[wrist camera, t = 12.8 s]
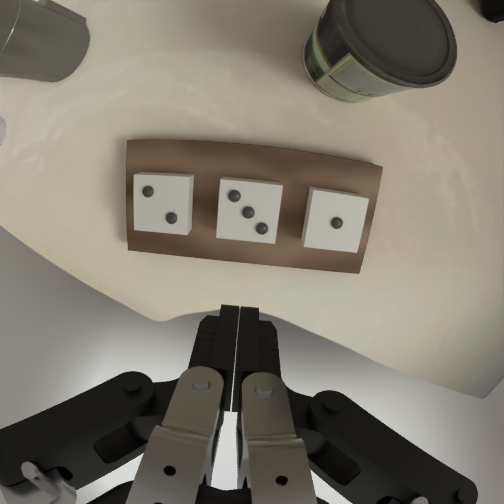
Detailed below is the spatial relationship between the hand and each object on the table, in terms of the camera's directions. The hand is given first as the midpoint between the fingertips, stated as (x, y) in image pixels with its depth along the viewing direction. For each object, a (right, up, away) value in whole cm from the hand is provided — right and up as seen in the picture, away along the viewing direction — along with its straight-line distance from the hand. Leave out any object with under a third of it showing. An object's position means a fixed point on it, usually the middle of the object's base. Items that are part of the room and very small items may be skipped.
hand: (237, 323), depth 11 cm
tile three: (0, +8, +18) cm, 20 cm away
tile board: (0, +8, +20) cm, 22 cm away
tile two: (-9, +8, +18) cm, 22 cm away
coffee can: (+11, +24, +14) cm, 30 cm away
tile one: (+9, +7, +19) cm, 22 cm away
